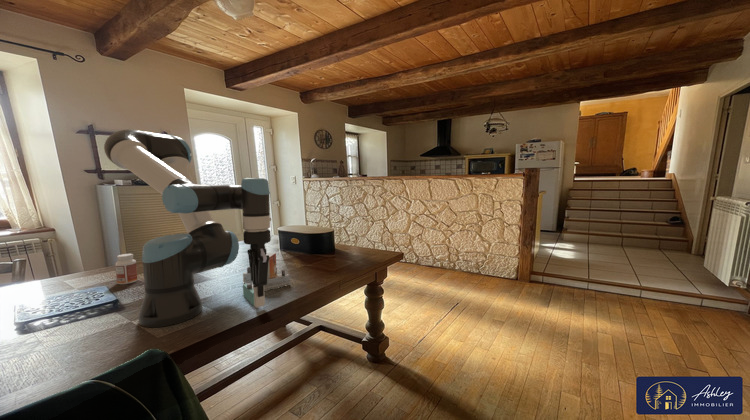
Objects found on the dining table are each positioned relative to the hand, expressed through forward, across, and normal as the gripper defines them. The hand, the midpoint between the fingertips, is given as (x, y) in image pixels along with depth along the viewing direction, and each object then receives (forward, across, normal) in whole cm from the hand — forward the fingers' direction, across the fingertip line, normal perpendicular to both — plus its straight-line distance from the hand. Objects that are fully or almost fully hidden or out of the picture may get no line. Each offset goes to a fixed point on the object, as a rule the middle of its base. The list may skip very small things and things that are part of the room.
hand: (259, 305), depth 86 cm
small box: (+1, +22, -10) cm, 24 cm away
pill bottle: (+2, +60, +32) cm, 68 cm away
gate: (+1, +10, 0) cm, 10 cm away
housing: (+1, +22, -10) cm, 24 cm away
